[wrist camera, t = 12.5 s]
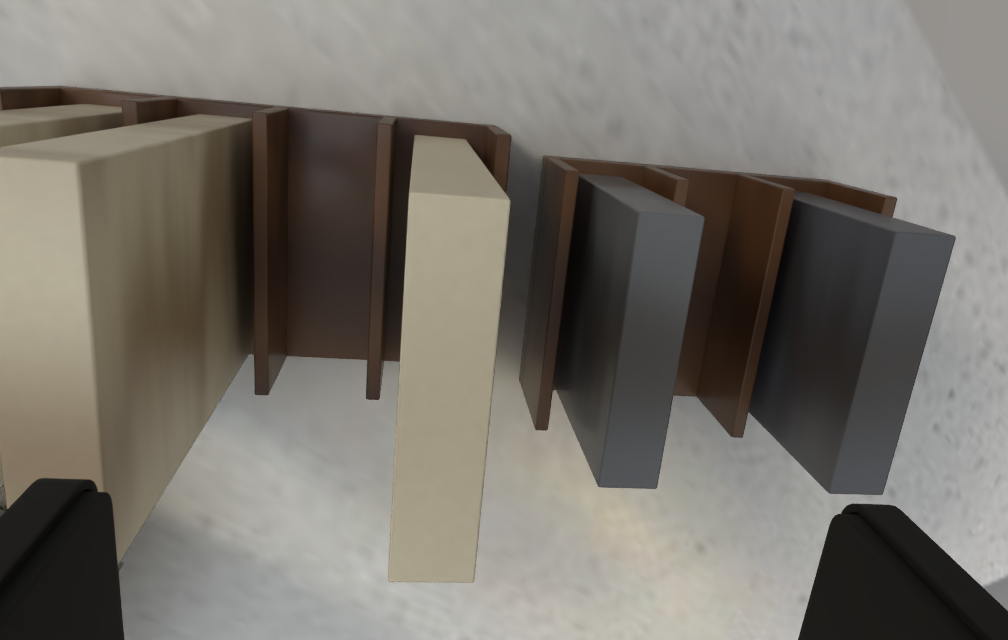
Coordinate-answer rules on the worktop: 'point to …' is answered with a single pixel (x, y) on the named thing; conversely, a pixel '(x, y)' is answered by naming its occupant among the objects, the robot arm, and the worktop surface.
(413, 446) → the cream book
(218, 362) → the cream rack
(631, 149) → the worktop surface
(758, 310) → the brown slotted rack
